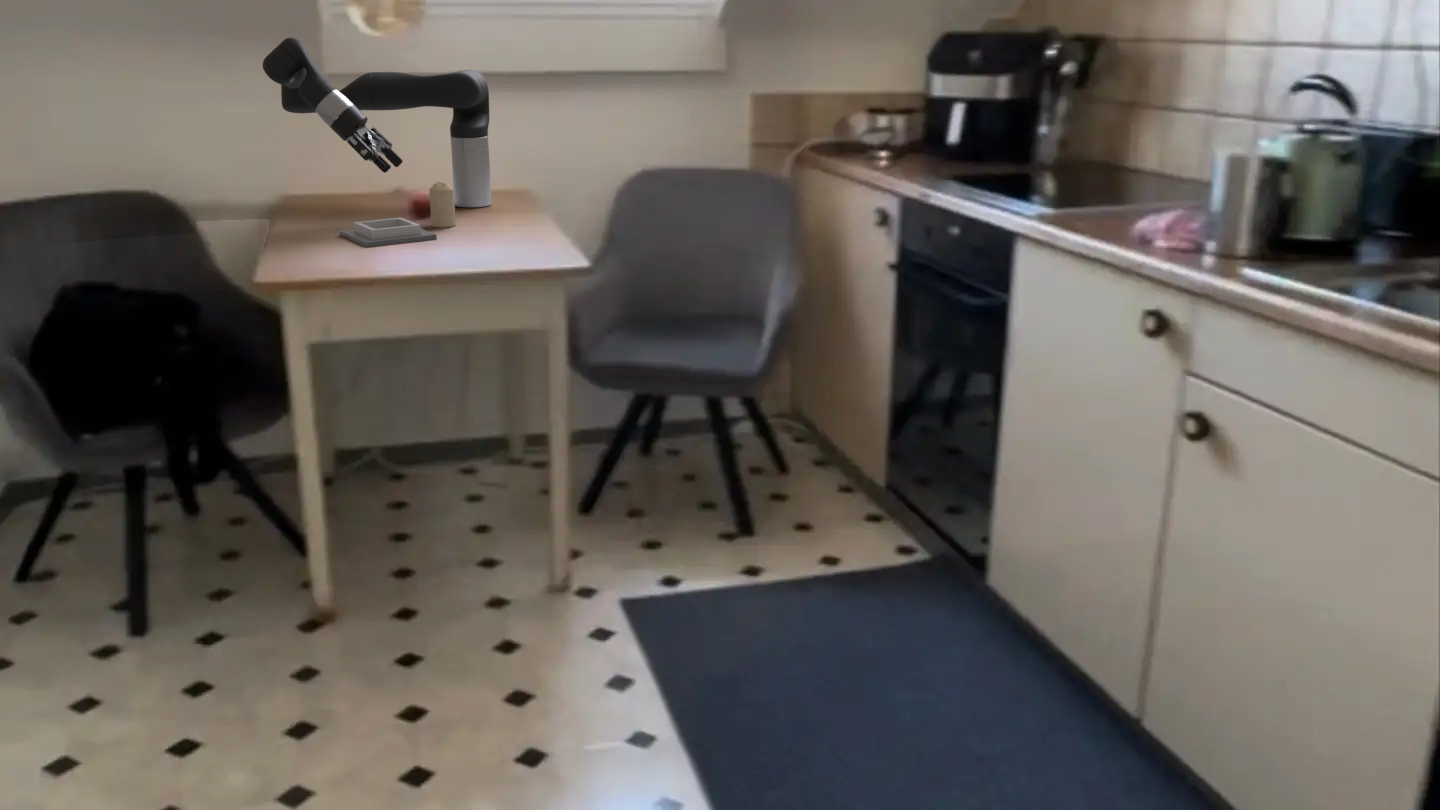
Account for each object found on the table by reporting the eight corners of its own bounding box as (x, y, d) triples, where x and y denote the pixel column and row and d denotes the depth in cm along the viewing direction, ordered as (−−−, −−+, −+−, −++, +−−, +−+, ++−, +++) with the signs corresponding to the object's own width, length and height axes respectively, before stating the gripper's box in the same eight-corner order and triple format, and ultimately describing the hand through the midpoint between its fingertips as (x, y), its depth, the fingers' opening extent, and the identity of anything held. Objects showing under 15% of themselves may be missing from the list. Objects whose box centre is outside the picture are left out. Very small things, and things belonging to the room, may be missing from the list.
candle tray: (339, 235, 277) (338, 221, 276) (407, 227, 286) (406, 214, 285) (366, 247, 265) (365, 233, 264) (436, 239, 274) (435, 225, 273)
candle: (460, 225, 289) (458, 182, 286) (440, 228, 285) (437, 185, 282) (446, 222, 293) (444, 180, 289) (426, 225, 289) (424, 182, 285)
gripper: (342, 123, 290) (393, 174, 293) (319, 130, 276) (373, 183, 279) (362, 100, 287) (414, 151, 290) (340, 106, 274) (394, 160, 277)
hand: (394, 167), depth 285 cm, fingers open, 8 cm apart
